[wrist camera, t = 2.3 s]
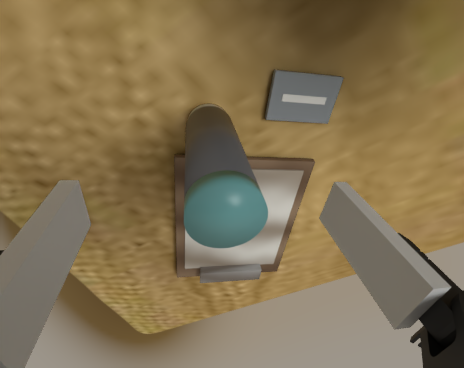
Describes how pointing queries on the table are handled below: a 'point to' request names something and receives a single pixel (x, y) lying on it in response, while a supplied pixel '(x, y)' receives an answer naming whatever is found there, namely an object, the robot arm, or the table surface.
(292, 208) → the clipboard
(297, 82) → the word card
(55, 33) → the table surface
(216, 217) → the marker
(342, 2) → the table surface
